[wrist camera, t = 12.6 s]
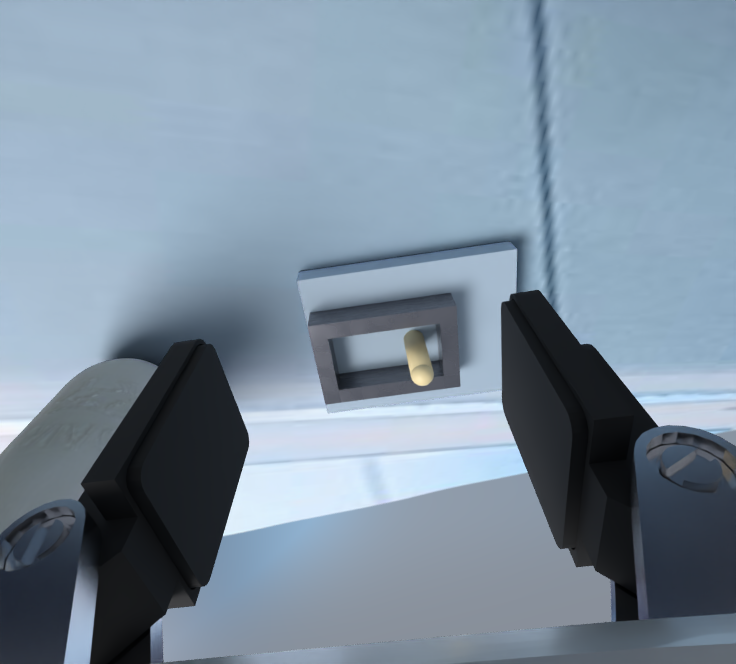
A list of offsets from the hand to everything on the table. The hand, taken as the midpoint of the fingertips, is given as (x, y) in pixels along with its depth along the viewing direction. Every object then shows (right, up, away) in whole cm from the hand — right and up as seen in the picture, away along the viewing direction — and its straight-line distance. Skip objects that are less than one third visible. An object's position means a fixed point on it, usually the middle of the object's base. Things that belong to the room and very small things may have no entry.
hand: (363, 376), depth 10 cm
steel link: (+2, 0, +31) cm, 31 cm away
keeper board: (+4, +1, +32) cm, 33 cm away
